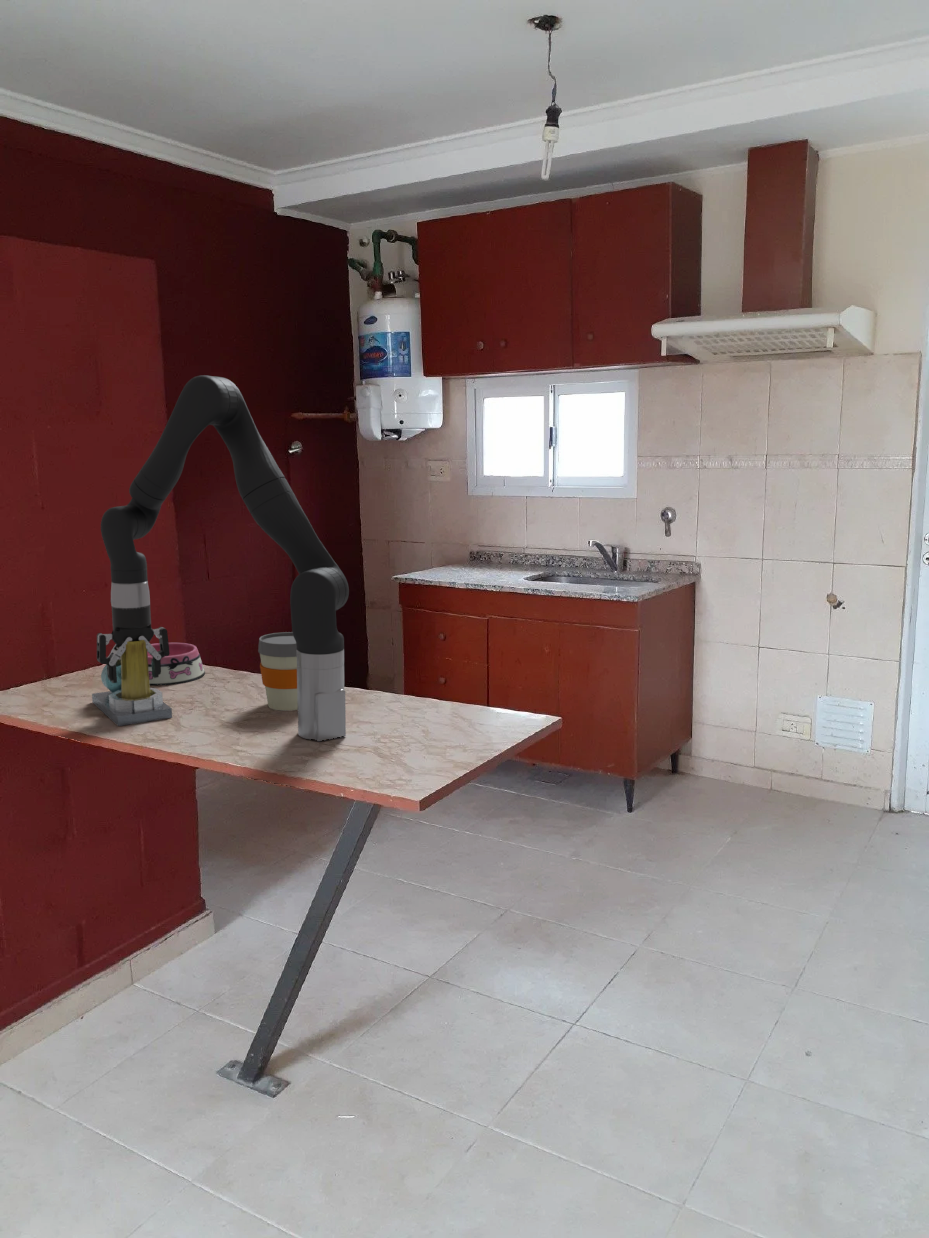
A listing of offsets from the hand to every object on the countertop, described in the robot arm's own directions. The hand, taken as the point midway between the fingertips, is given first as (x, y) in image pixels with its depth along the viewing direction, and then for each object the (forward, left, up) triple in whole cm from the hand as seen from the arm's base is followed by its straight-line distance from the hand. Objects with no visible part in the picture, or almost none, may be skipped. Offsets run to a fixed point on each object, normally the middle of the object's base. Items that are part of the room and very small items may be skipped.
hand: (135, 679), depth 200 cm
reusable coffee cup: (-10, -30, -8) cm, 33 cm away
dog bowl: (+29, -15, -8) cm, 34 cm away
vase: (0, 0, -6) cm, 6 cm away
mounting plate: (+4, 0, -8) cm, 9 cm away
